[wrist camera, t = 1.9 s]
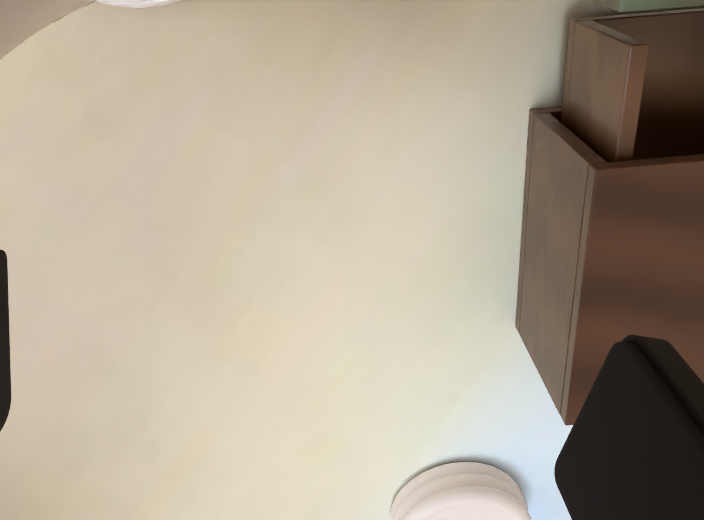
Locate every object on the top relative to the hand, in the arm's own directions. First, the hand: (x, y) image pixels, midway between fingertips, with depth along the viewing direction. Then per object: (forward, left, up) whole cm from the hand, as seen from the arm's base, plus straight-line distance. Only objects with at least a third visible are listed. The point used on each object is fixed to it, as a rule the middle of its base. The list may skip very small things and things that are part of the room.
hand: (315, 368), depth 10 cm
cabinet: (+11, +18, -26) cm, 34 cm away
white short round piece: (+34, +8, -26) cm, 44 cm away
